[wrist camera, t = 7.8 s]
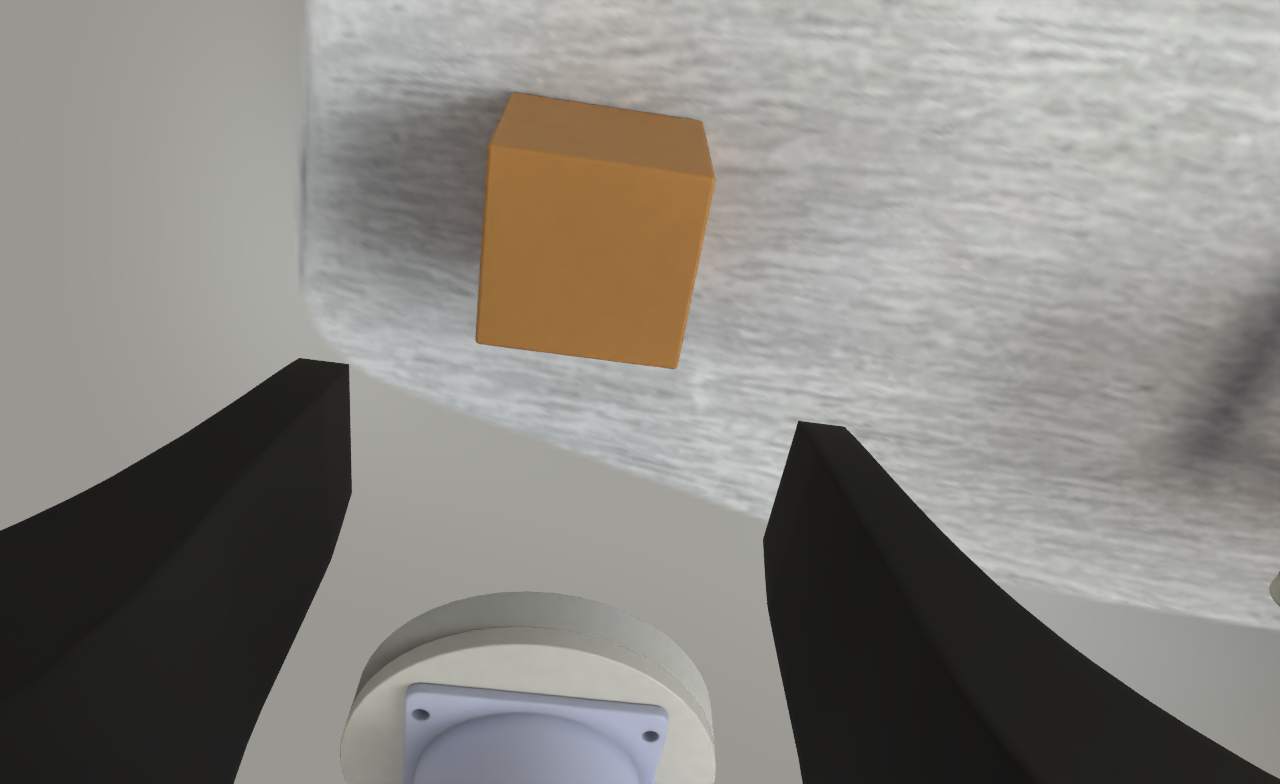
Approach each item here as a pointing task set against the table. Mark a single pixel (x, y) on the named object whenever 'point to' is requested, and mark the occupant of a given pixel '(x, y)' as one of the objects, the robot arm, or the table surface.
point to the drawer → (1275, 589)
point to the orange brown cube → (592, 230)
